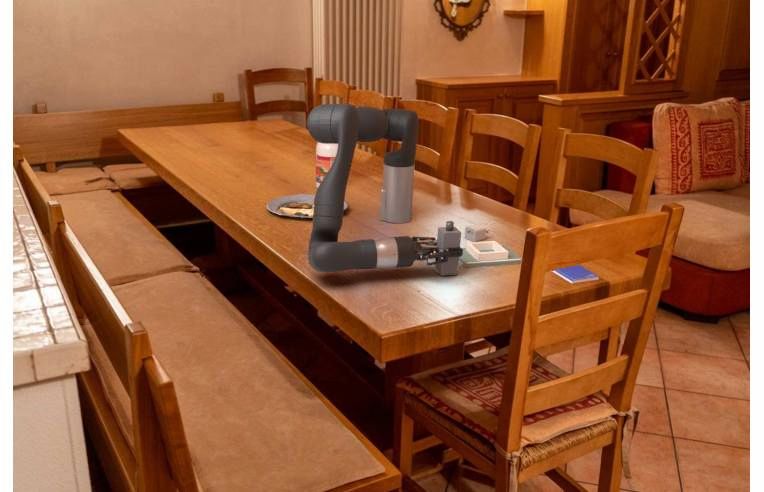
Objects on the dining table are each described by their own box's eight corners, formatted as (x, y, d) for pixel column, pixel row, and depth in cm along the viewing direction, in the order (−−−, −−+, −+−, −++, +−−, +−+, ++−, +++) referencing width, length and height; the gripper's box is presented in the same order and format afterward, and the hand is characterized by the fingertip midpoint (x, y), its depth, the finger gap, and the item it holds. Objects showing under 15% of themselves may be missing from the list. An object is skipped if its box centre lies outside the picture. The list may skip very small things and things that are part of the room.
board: (465, 267, 175) (466, 256, 174) (450, 252, 185) (451, 241, 184) (522, 263, 179) (524, 252, 178) (504, 248, 189) (506, 238, 188)
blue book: (599, 275, 171) (568, 258, 181) (572, 279, 168) (542, 261, 178) (598, 281, 171) (567, 263, 182) (571, 285, 168) (542, 267, 179)
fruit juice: (344, 191, 237) (345, 109, 227) (316, 191, 235) (316, 109, 225) (341, 184, 245) (342, 104, 236) (314, 184, 244) (314, 104, 234)
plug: (440, 275, 169) (444, 225, 164) (434, 268, 173) (438, 219, 168) (458, 274, 170) (463, 224, 165) (452, 267, 174) (456, 218, 169)
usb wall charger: (464, 239, 195) (465, 225, 194) (480, 234, 200) (481, 221, 198) (474, 243, 193) (475, 229, 191) (491, 238, 197) (492, 225, 195)
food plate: (356, 203, 224) (356, 192, 222) (337, 226, 202) (337, 214, 201) (283, 198, 229) (282, 188, 227) (257, 220, 207) (256, 209, 206)
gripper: (401, 248, 158) (470, 244, 162) (384, 228, 170) (449, 224, 175) (399, 278, 160) (468, 273, 165) (383, 256, 173) (447, 251, 178)
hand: (458, 248), depth 170 cm, fingers closed on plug, 4 cm apart
